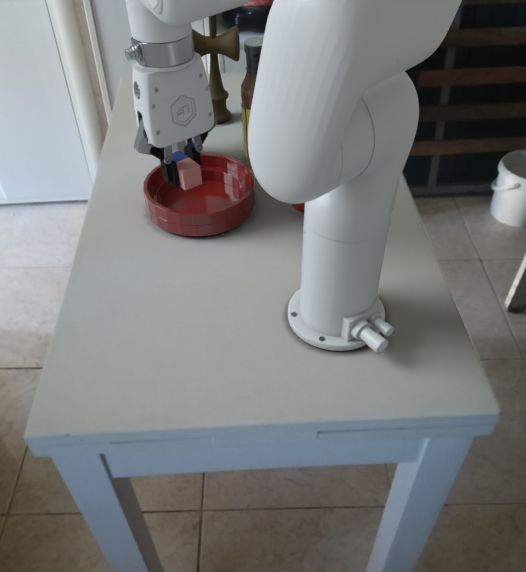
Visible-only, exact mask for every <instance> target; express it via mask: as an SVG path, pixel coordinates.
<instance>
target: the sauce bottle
mask: <svg viewBox="0 0 526 572" xmlns="http://www.w3.org/2000/svg"><path fill="white" fill-rule="evenodd" d="M263 38H264V36H253V37H249V38H247V39H245V40H244V42H243V51H244V54H245V63H246V64H245V65H246V66H245V70H246V73H245V77H244V78H243V79H242V82H241V85H240V96H241V97H240V99H241V104H240V108H241V121H242V134H243V135H242V136H243V151H244V159H245V161H246V163H247V166H248V167H251V168H252V166H251V163H250V158H249V153H248V125H249V117H250V111H251V105H252V100H253V94H254V88H255V83H256V77H257V72H258V66H259V61H260V55H261V49H262V44H263Z"/></svg>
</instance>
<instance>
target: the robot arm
mask: <svg viewBox="0 0 526 572" xmlns="http://www.w3.org/2000/svg"><path fill="white" fill-rule="evenodd" d="M252 1H253V0H124V2H125V7H126V14H127V18H128V24H129V29H130V35H131V38H130V41H131V45H130V46H129V47H128V48H125V49H124V56H125V58H126V60H127V62H130V61H131V62H132V61H135V62H133V64H132V72H131V73H132V74H131V76H132V80H131V81H132V97H133V107H134V113H135V121H136V126H137V132H136V136H135V139H134V144H133V149H134V150H135V151H136V152H137V153H139V154H142V155H148V156H153V157H154V158H156V159H158V160H159V162H160V164H161V168H162V174H163V178H164V179H165V181H167V182H169V183H170V184H171V185H173V186H174V187H175V188H177V187H179V185H180V182H179V176H178V169H177V163H176V162H175V161H174V160H173V159H172V145H173V144H176V143H179V142H181V141H184V140H185V141H186V144H187V145H186V146H184V154H185V155H187V156H188V157H189V158H190V159H192V160H193V161H195V162H196V163H197V164H199V165H200V169H201V168H202V166H201V158H200V152H201V153H202V151H203V149H204V146H203V144H204V143H205V141H206V139H207V138H208V137H209V133H211V131H213V130H214V129H215V127H216V126H217V125H218V124H219V123H218V121H217V119H216V118H215V116H214V112H213V105H212V99H211V93H210V88H209V80H208V76H207V71H206V68H205V65H204V61H203V59H202V58H203V57H201V55H200V54H198V53H196V52H194V44H193V35H192V29H193V28H192V27H193V26H192V23H195V22H198V21H200V20H204V19H206V18H209V16H212V15H213V16H215V15H218V14H222V13H224V12H226V11H230V10H234V9H236V8H240V7H243V6H246V5H247V4H248V3H251V2H252ZM462 1H463V0H273V2H272V4H271V7H270V9H269V13H268V15H267V20H266V24H265V29H264V32H263V37H264V38H263V44H262V49H261V55H260V61H259V66H258V72H257V77H256V83H255V88H254V94H253V100H252V105H251V111H250V117H249V125H248V153H249V158H250V163H251V166H252V167H251V166H250V167H251V170H252V173H253V175H254V177H255V178H256V181H257V182H258V183H259V185H260V187H261V188H262V190H264V191H265V192H266V193H267V194H268V195H269V196H271V197H272V198H273V199H275V200H277V201H279V202H282V203H286V204H291V205H292V204H300V203H305V210H304V213H303V228H302V229H303V230H302V248H301V249H302V251H301V271H300V272H301V274H300V287H299V288H298V289H297V290H296V291H295V292H294V293H293V295H292V296H291V297H290V299H289V302H288V304H287V305H288V306H287V320H288V323H289V326H290V327H291V329H292V331H293V332H294V333H295V335H296V336H297V337H299V338H300V339H301V340H302V341H304V342H305V343H307V344H309V345H310V346H313V347H315V348H319V349H322V350H327V351H336V352H337V351H338V352H343V351H353V350H355V349H359V348H362V347H364V346H366V345H367V346H368V347H369V348H370V349H371V350H372V351H374V353H376V354H381V353H382V352H384V351H385V350H386V349H387V347H388V345H389V340H387V339H386V338H385V337H390V336H391V335H392V334H393V332H394V330H395V327H394V326H392V325H391V324H390V323H388V322H387V321H385V320H386V311H385V307H384V304H383V301H382V300H381V299H380V297H379V296H378V289H379V285H380V279H381V274H382V268H383V264H384V263H383V262H384V257H385V251H386V246H387V242H388V241H387V240H388V236H389V229H390V224H391V221H392V220H391V219H392V215H393V209H394V204H395V200H396V195H397V191H398V187H399V184H400V180H401V177H402V175H403V174H402V173H403V171H404V169H405V166H406V163H407V162H408V161H407V160H408V158H409V155H410V152H411V150H412V147H413V145H414V141H415V137H416V135H417V130H418V124H419V119H420V102H419V97H418V92H417V90H416V87H415V84H414V82H413V80H412V79H411V78H410V76H409V75H408V73H407V72H406V71H408V70H411V68H414V67H416V66H417V65H419V64H421V63H422V62H424V61H426V60H427V59H428V58H430V57H431V56H432V55H433V54H434V53H435V52H436V51H437V49H438V48H439V47H440V45H441V44H442V43H443V42H444V39H445V37H446V36H447V34H448V33H449V30H450V28H451V26H452V24H453V21H454V19H455V17H456V14H457V12H458V10H459V8H460V6H461V3H462ZM381 334H383V335H384V336H385V337H384V336H382V335H381Z"/></svg>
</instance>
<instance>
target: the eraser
mask: <svg viewBox="0 0 526 572" xmlns="http://www.w3.org/2000/svg"><path fill="white" fill-rule="evenodd" d="M172 159H173V160H174V161H175V162H176V163H177V169H178V176H179V182H180V185H179V186H180V187H181V188H183V189H184V190H185V191H186V190H188V189H191V188H193V187H196V186H198V185H200V184H202V177H201V169H200V165H199V164H197V163H196V162H195V161H193V160H192V159H190V158H189V157H188V156H187V155H185V154H184V153H183V152H181V151H180V150H177V151H174V152H172Z"/></svg>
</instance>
